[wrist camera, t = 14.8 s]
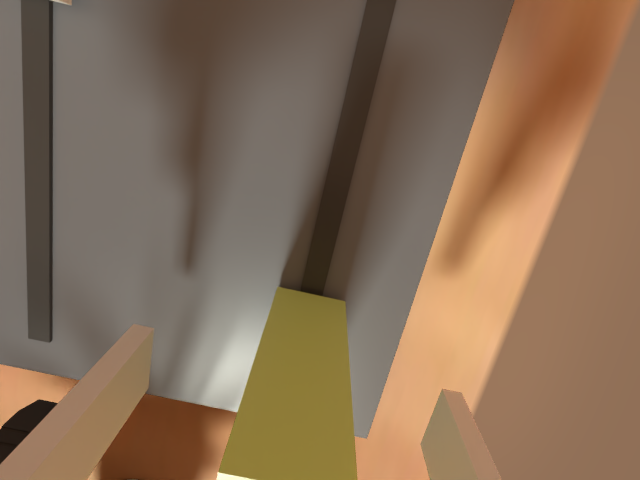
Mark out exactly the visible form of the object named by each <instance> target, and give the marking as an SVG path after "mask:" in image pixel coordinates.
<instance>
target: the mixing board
mask: <svg viewBox="0 0 640 480" xmlns="http://www.w3.org/2000/svg"><path fill="white" fill-rule="evenodd" d="M513 3H514V0H72V5H67V4H63V3H59V2H55V1H51V0H0V364H3V365H7V366H12V367H17V368H22V369H27V370H32V371H37V372H42V373H47V374H52V375H57V376H62V377H66V378H71V379H76V380H81V379H82V378H83V377H84V376H85V375H86V373H87V372H88V371H89V370H90V369H91V368H92V367H93V366H94V365H95V364H96V363H97V362H98V361H99V360H100V359H101V358H102V357H103V356H104V354H105V353H106V352H107V351H108V350H109V349H110V348H111V347H112V346H113V345H114V344H115V343H116V342H117V341H118V340H119V339H120V338H121V337H122V336H123V334H124V333H125V332H126V331H127V330H128V329H129V328H130V327H131V326H132V325H133V324H136V325H141V326H146V327H151V328H154V335H153V345H152V355H151V365H150V375H149V385H148V389H147V391H146V392H145V394H150V395H155V396H160V397H165V398H170V399H175V400H180V401H185V402H190V403H194V404H199V405H204V406H209V407H214V408H219V409H224V410H229V411H234V412H238V409H239V406H240V402H241V399H242V396H243V393H244V390H245V387H246V384H247V381H248V377H249V374H250V371H251V368H252V365H253V362H254V359H255V356H256V352H257V349H258V346H259V343H260V340H261V337H262V334H263V330H264V327H265V324H266V321H267V318H268V315H269V312H270V309H271V305H272V302H273V299H274V296H275V293H276V290H277V287H282V288H286V289H291V290H295V291H300V292H305V293H309V294H314V295H319V296H323V297H328V298H332V299H337V300H342V301H345V304H346V318H347V333H348V348H349V363H350V378H351V393H352V407H353V422H354V436H357V437H362V438H367V437H368V434H369V431H370V428H371V425H372V422H373V419H374V416H375V413H376V410H377V407H378V404H379V401H380V398H381V395H382V392H383V389H384V386H385V383H386V380H387V377H388V374H389V371H390V368H391V365H392V362H393V359H394V356H395V353H396V350H397V348H398V345H399V342H400V339H401V336H402V333H403V330H404V327H405V324H406V321H407V318H408V315H409V312H410V309H411V306H412V303H413V300H414V297H415V294H416V291H417V288H418V285H419V282H420V279H421V276H422V273H423V270H424V267H425V264H426V261H427V258H428V255H429V252H430V249H431V246H432V244H433V241H434V238H435V235H436V232H437V229H438V226H439V223H440V220H441V217H442V214H443V211H444V208H445V205H446V202H447V199H448V196H449V193H450V190H451V187H452V184H453V181H454V178H455V175H456V172H457V169H458V166H459V163H460V160H461V157H462V154H463V151H464V148H465V145H466V142H467V140H468V137H469V134H470V131H471V128H472V125H473V122H474V119H475V116H476V113H477V110H478V107H479V104H480V101H481V98H482V95H483V92H484V89H485V86H486V83H487V80H488V77H489V74H490V71H491V68H492V65H493V62H494V59H495V56H496V53H497V50H498V47H499V44H500V41H501V38H502V36H503V33H504V30H505V27H506V24H507V21H508V18H509V15H510V12H511V9H512V6H513Z"/></svg>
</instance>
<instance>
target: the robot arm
mask: <svg viewBox="0 0 640 480" xmlns="http://www.w3.org/2000/svg"><path fill="white" fill-rule="evenodd" d="M153 335H154V328H151V327H146V326H141V325H136V324H133V325H132V326H131V327H130V328H129V329H128V330H127V331H126V332H125V333H124V334H123V336H122V337H121V338H120V339H119V340H118V341H117V342H116V343H115V344H114V345H113V346H112V347H111V348H110V349H109V350H108V351H107V352H106V353H105V354H104V356H103V357H102V358H101V359H100V360H99V361H98V362H97V363H96V364H95V365H94V366H93V367H92V368H91V369H90V370H89V371H88V372H87V373H86V375H85V376H84V377H83V378H82V379H81V380H80V381H79V382H78V383H77V384H76V385H75V386H74V387H73V388H72V389H71V390H70V391H69V392H68V394H67V395H66V396H65V397H64V398H63V399H62V400H61V401H60V402H59V403H54V402H49V401H44V400H37V401H35V402H34V403H32V404H30V405H28V406H26V407H25V408H23V409H21V410H19V411H18V412H17V413H16V414H15V415H13V416H12V417H11V418H10V419H9V420H8V421H7V422H6V423H5V424H4V425H3V426H2V428H1V429H0V480H87V479H88V477H89V476H90V474H91V473H92V471H93V470H94V468H95V467H96V465H97V464H98V462H99V461H100V459H101V458H102V456H103V455H104V453H105V452H106V450H107V449H108V447H109V446H110V444H111V443H112V441H113V440H114V438H115V437H116V435H117V434H118V433H119V431H120V430H121V428H122V427H123V425H124V424H125V422H126V421H127V419H128V418H129V416H130V415H131V413H132V412H133V410H134V409H135V407H136V406H137V404H138V403H139V401H140V400H141V398H142V397H143V395H144V394H145V392H146V391H147V389H148V385H149V375H150V365H151V355H152V345H153ZM421 447H422V451H423V455H424V459H425V462H426V466H427V470H428V474H429V477H430V480H502V479H501V477H500V475H499V473H498V471H497V468H496V466H495V464H494V462H493V460H492V458H491V455H490V453H489V451H488V449H487V447H486V444H485V442H484V440H483V438H482V436H481V434H480V431H479V429H478V427H477V425H476V423H475V421H474V418H473V416H472V414H471V412H470V410H469V408H468V405H467V403H466V401H465V399H464V397H463V395H462V393H460V392H455V391H450V390H446V389H442V391H441V393H440V396H439V398H438V401H437V403H436V406H435V409H434V411H433V414H432V416H431V419H430V421H429V424H428V426H427V429H426V431H425V434H424V436H423V439H422V441H421Z"/></svg>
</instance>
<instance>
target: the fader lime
mask: <svg viewBox="0 0 640 480" xmlns="http://www.w3.org/2000/svg"><path fill="white" fill-rule="evenodd" d="M217 480H357V467H356V452H355V437H354V422H353V407H352V393H351V378H350V363H349V348H348V333H347V318H346V304H345V301H342V300H337V299H332V298H328V297H323V296H319V295H314V294H309V293H305V292H300V291H295V290H291V289H286V288H282V287H277V290H276V293H275V296H274V299H273V302H272V305H271V309H270V312H269V315H268V318H267V321H266V324H265V327H264V330H263V334H262V337H261V340H260V343H259V346H258V349H257V352H256V356H255V359H254V362H253V365H252V368H251V371H250V374H249V377H248V381H247V384H246V387H245V390H244V393H243V396H242V399H241V402H240V406H239V409H238V412H237V415H236V418H235V421H234V424H233V427H232V431H231V434H230V437H229V440H228V443H227V446H226V449H225V453H224V456H223V459H222V462H221V465H220V468H219V471H218V476H217Z"/></svg>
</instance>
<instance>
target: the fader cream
mask: <svg viewBox="0 0 640 480" xmlns="http://www.w3.org/2000/svg"><path fill="white" fill-rule="evenodd" d="M51 1H55V2H59V3H63V4H67V5H72V0H51Z"/></svg>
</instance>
